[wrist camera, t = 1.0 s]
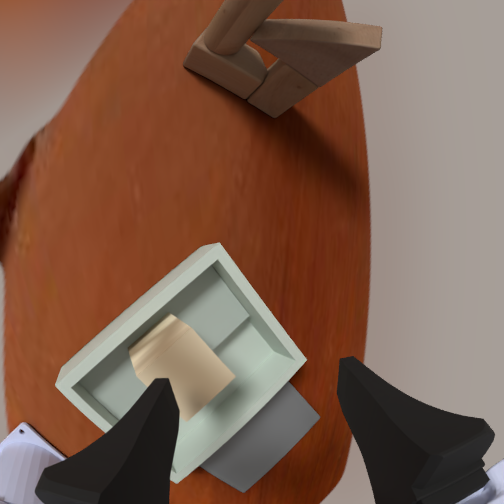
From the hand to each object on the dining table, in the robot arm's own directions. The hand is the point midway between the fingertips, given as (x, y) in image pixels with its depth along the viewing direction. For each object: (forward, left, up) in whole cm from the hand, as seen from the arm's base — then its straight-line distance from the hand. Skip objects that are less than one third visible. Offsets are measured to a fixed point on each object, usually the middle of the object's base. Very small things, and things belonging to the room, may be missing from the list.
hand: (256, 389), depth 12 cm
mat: (-2, -14, -13) cm, 19 cm away
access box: (-2, -2, -13) cm, 13 cm away
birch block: (-2, 0, -11) cm, 11 cm away
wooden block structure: (+18, +15, -13) cm, 27 cm away
